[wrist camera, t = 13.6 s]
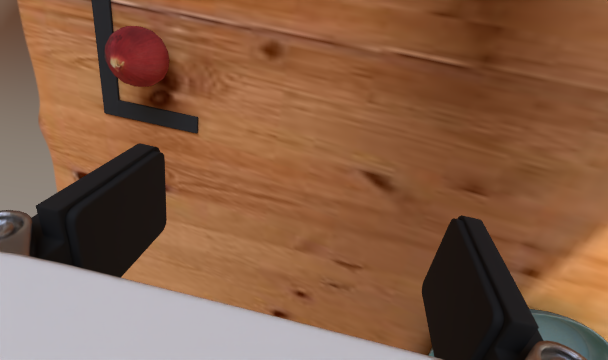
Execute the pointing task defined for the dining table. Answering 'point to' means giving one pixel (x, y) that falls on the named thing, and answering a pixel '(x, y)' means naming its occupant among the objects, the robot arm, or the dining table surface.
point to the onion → (137, 56)
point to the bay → (110, 82)
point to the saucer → (569, 335)
